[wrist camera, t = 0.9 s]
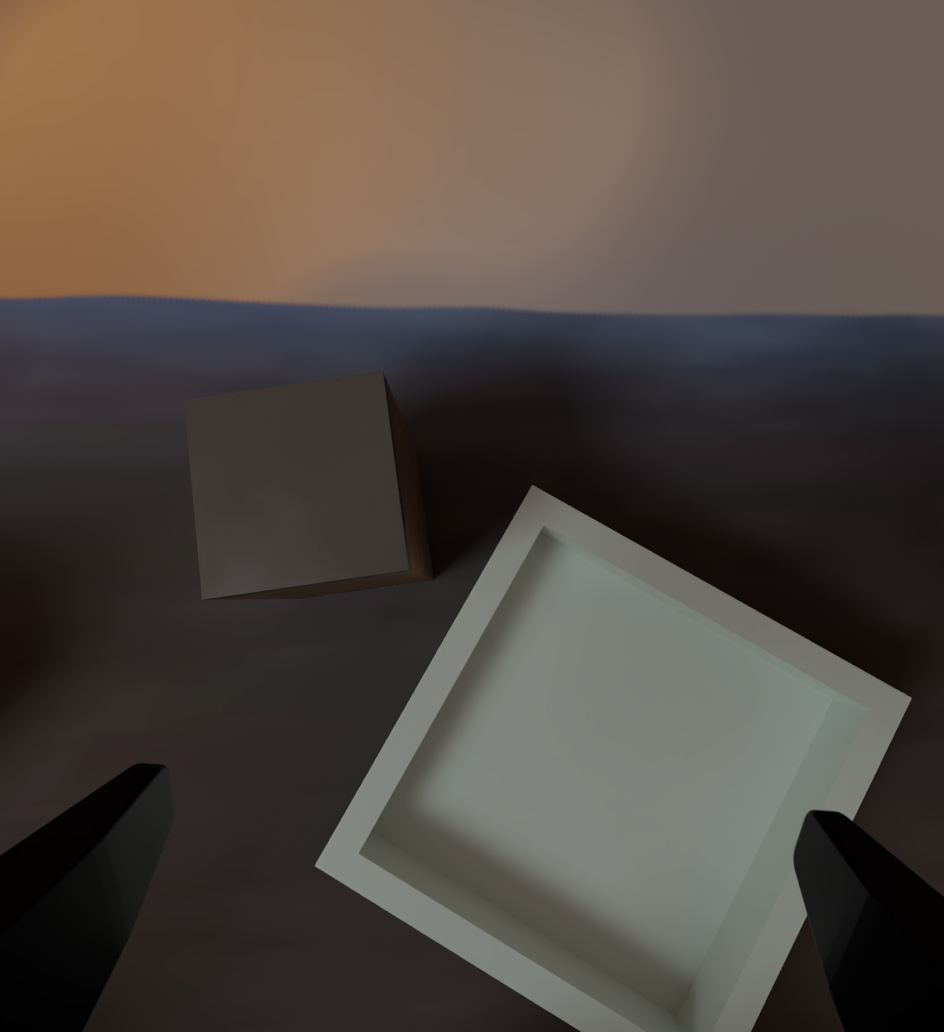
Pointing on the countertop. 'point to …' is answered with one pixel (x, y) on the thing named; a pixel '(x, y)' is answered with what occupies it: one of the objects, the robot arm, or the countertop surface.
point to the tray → (612, 783)
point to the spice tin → (305, 491)
